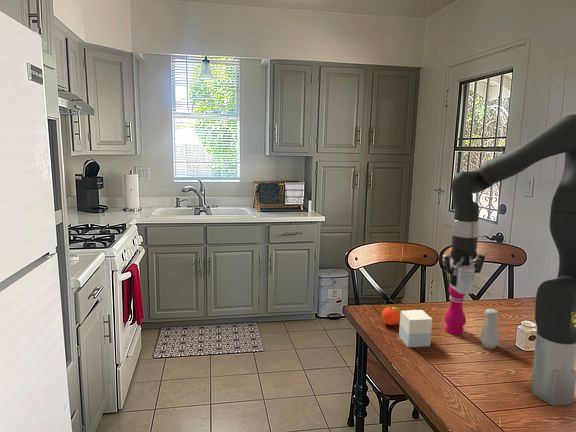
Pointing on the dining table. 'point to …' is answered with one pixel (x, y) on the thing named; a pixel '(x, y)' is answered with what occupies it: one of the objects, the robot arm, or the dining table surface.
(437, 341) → the dining table surface
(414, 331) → the tower top
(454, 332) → the pepper mill
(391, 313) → the clementine
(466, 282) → the medicine box
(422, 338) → the tower base
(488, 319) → the salt shaker
